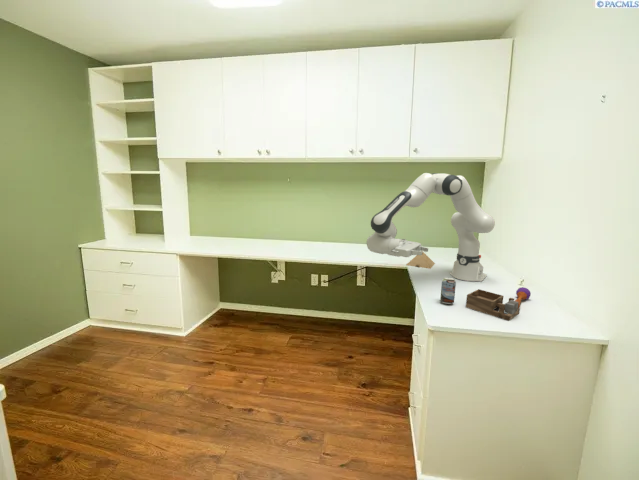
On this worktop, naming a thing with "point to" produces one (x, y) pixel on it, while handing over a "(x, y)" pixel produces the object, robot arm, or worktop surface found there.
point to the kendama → (522, 295)
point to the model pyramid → (421, 261)
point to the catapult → (492, 304)
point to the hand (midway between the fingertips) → (425, 251)
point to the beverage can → (448, 290)
